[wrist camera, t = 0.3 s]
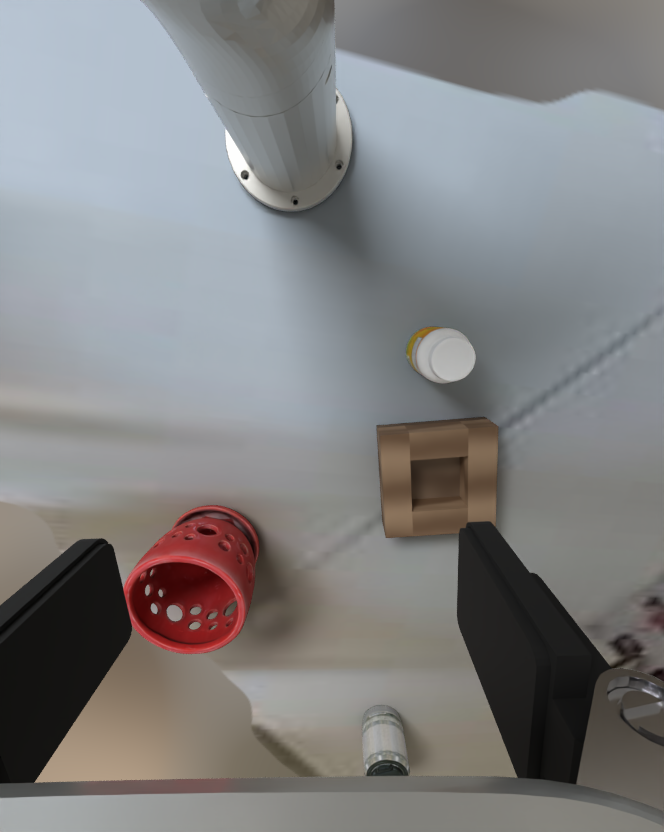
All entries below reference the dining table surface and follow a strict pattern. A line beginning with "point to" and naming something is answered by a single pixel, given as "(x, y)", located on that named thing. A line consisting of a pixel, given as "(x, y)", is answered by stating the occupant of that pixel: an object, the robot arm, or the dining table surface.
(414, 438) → the socket block
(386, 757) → the camera lens
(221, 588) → the plant pot
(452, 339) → the supplement bottle
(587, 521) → the dining table surface
